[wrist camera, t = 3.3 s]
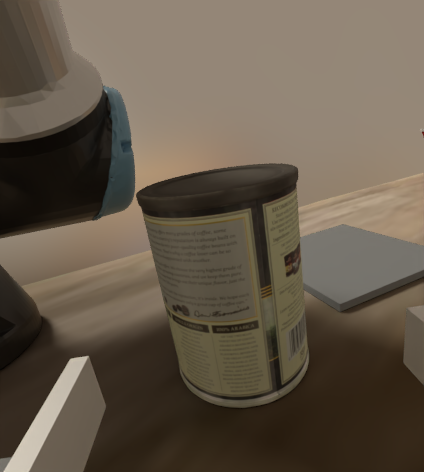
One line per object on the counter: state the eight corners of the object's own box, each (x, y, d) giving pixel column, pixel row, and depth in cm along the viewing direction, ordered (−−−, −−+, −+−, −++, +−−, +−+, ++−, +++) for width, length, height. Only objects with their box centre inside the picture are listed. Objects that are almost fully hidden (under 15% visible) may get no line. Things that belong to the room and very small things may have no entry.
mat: (252, 257, 41) (251, 252, 41) (343, 229, 46) (343, 224, 46) (340, 311, 27) (339, 304, 27) (457, 262, 32) (458, 255, 32)
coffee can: (192, 318, 30) (164, 175, 25) (300, 313, 28) (289, 158, 23) (160, 409, 20) (104, 205, 16) (321, 412, 18) (310, 179, 14)
